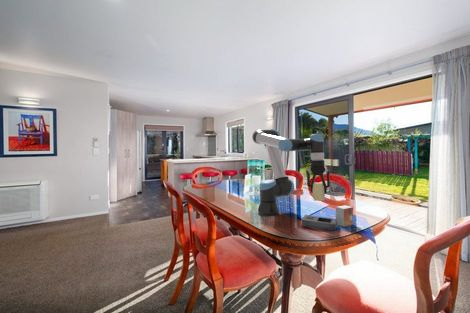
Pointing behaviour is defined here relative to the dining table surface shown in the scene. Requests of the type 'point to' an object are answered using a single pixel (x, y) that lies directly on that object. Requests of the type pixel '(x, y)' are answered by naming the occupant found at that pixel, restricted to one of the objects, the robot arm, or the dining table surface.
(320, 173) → the robot arm
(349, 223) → the small box
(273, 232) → the dining table surface
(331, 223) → the grey square hole block
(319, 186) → the beige square peg
